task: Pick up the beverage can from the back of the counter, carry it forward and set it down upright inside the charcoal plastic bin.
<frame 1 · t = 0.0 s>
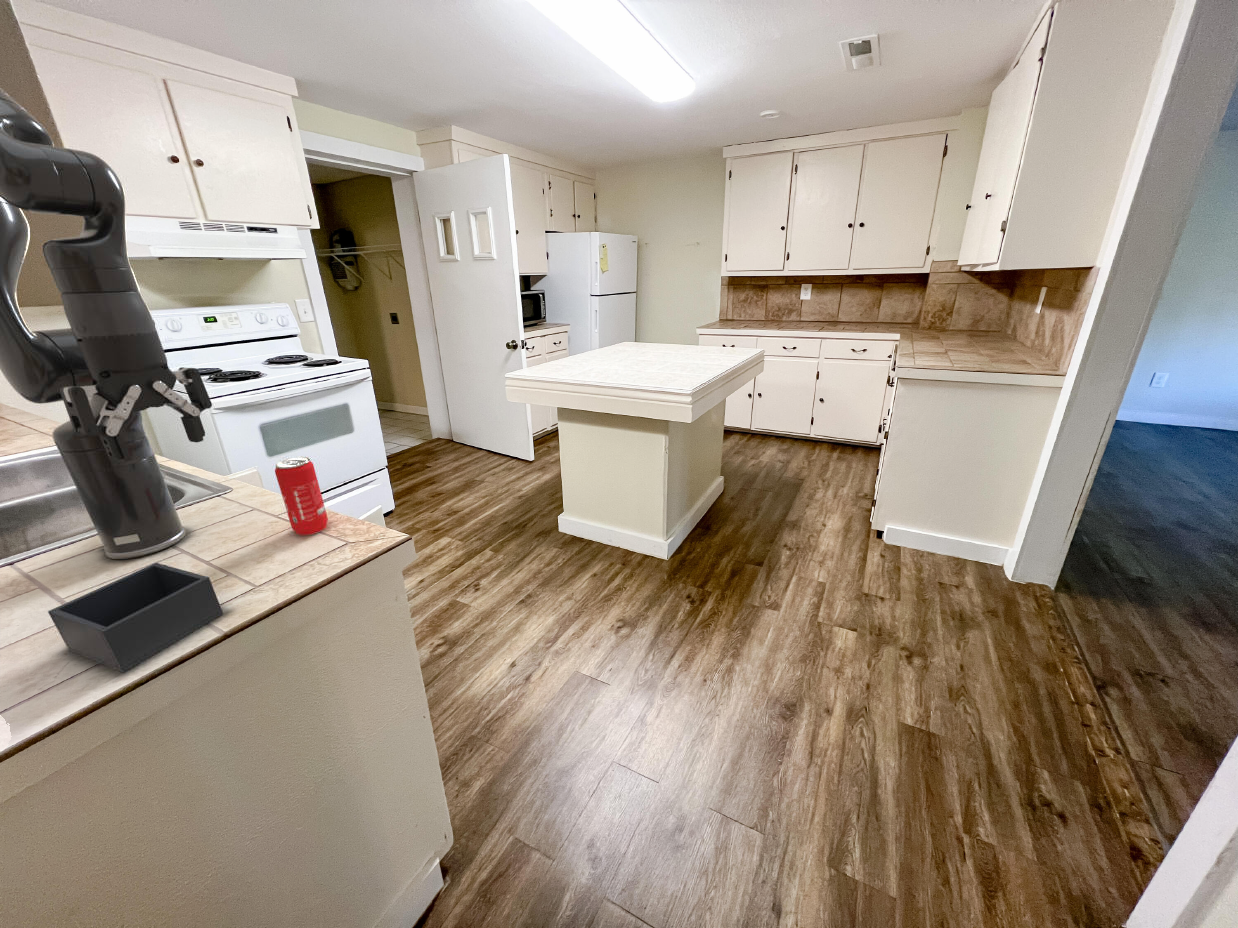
hand: (162, 451, 67), 17 cm above the counter, tool pointing down, fingers open, 8 cm apart
beverage can: (312, 529, 81), on the counter
bin: (150, 631, 58), on the counter
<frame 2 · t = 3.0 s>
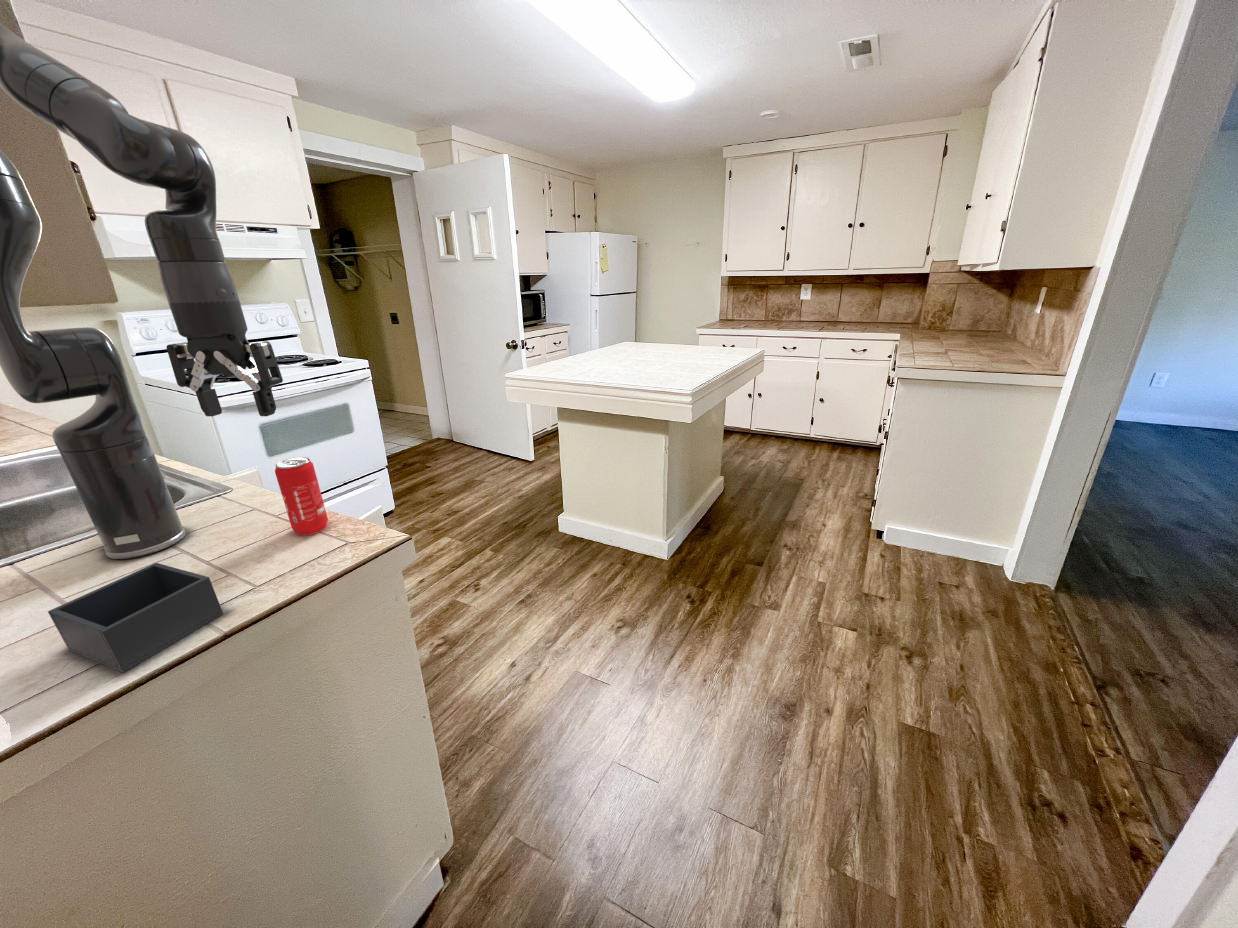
hand: (240, 415, 71), 21 cm above the counter, tool pointing down, fingers open, 8 cm apart
nothing on the counter moved.
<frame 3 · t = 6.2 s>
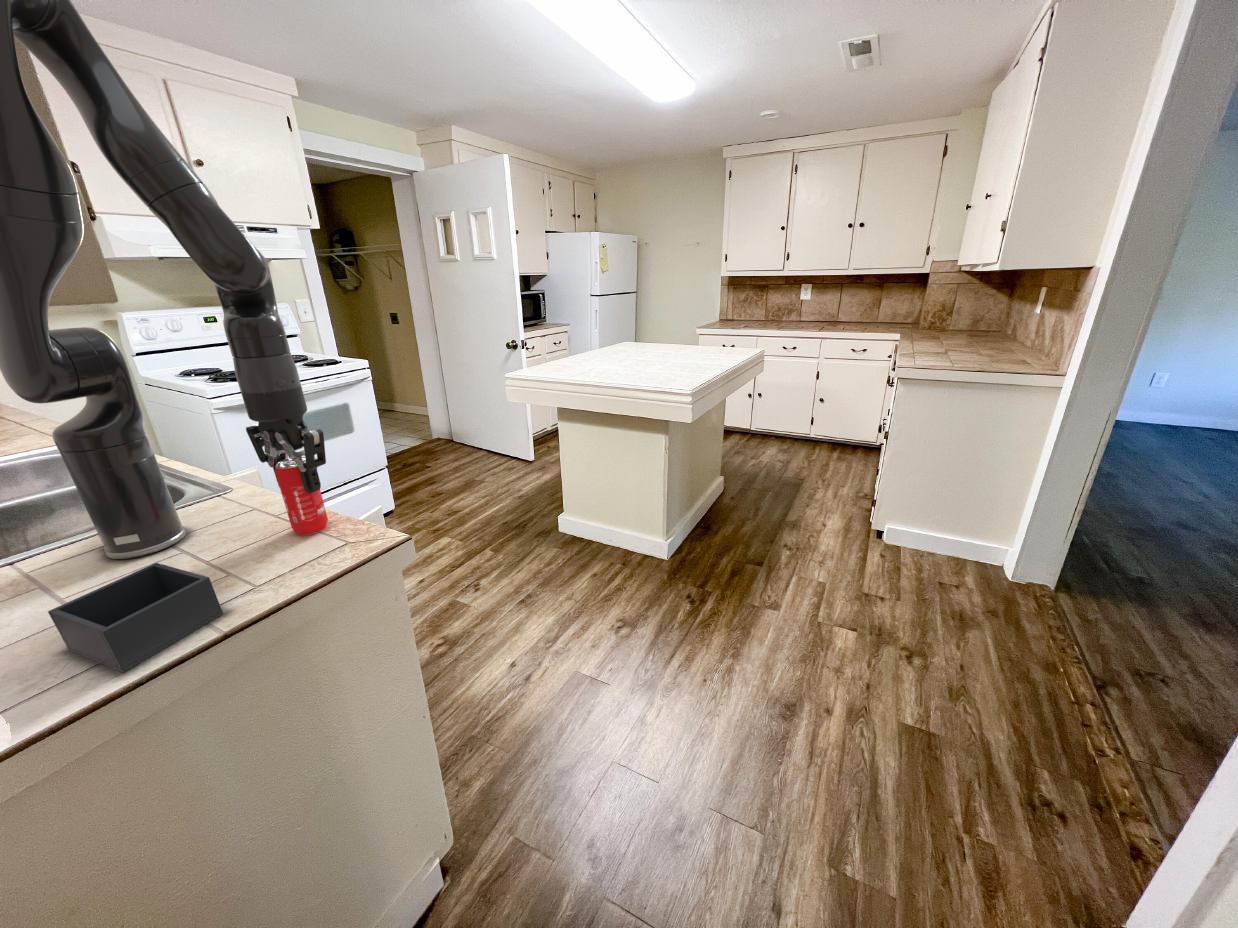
hand: (300, 488, 78), 7 cm above the counter, tool pointing down, fingers closed on beverage can, 5 cm apart
beverage can: (312, 529, 81), on the counter, touching gripper
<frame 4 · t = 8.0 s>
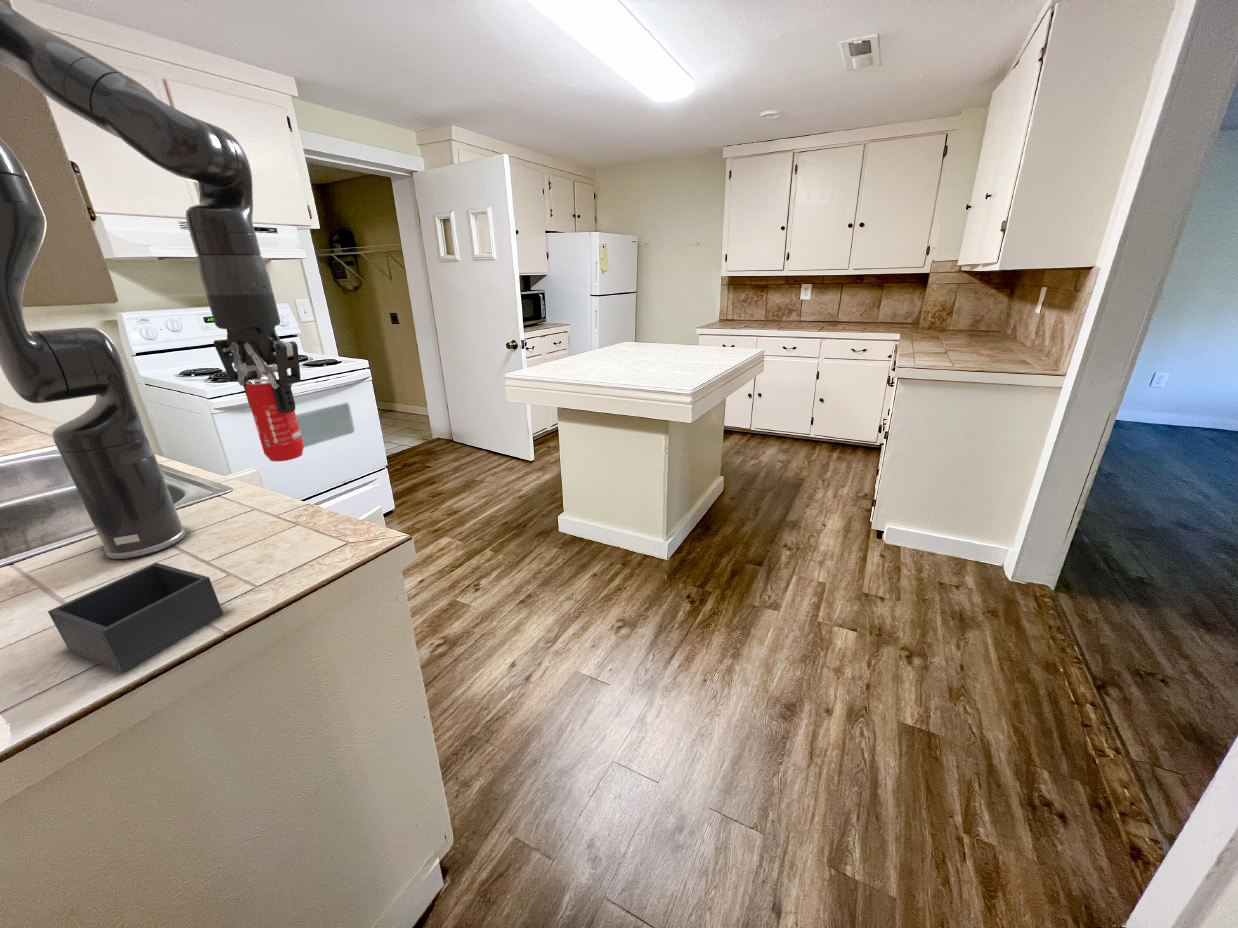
hand: (273, 410, 73), 21 cm above the counter, tool pointing down, fingers closed on beverage can, 5 cm apart
beverage can: (286, 457, 76), point 13 cm above the counter, touching gripper
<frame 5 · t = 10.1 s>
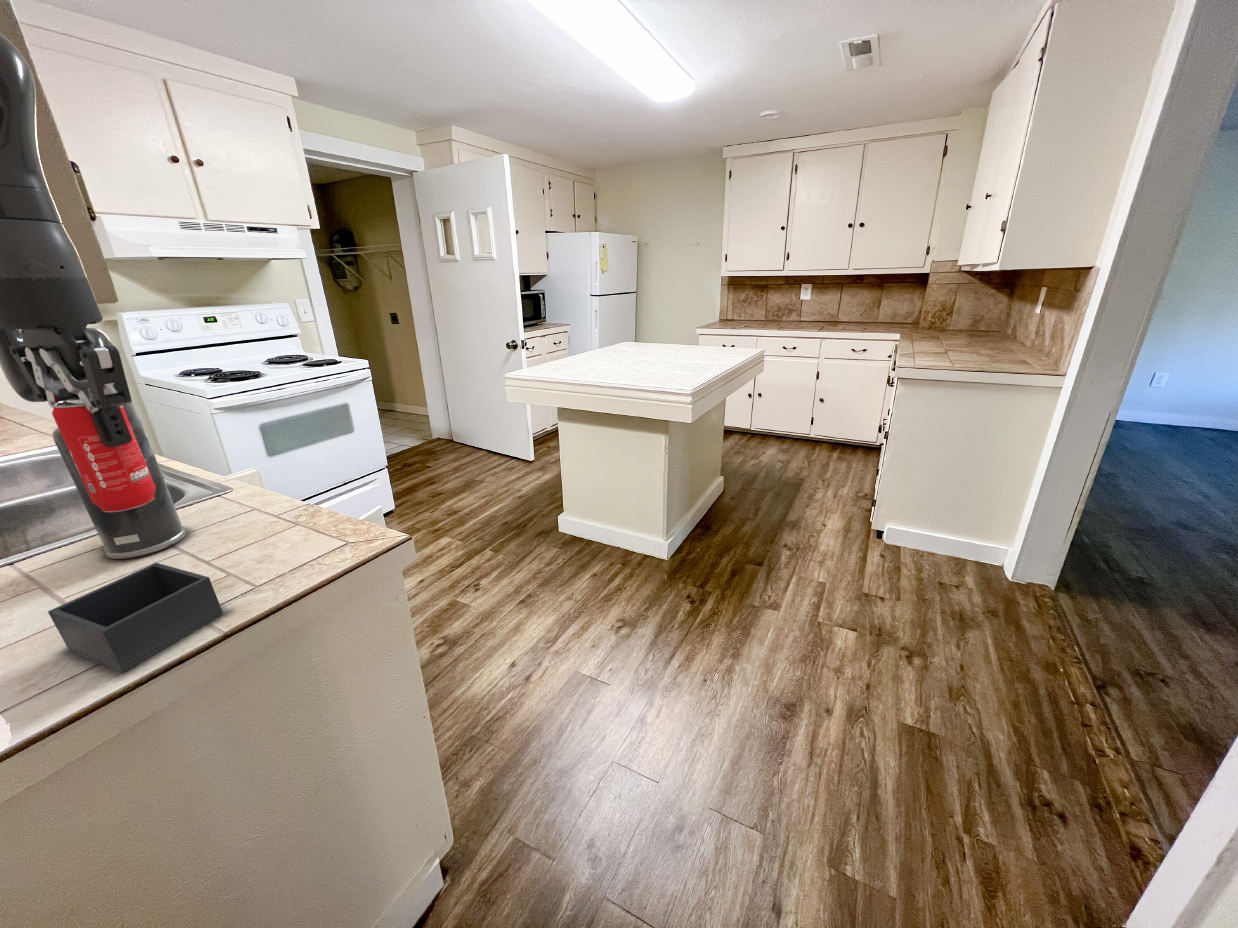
hand: (102, 441, 53), 23 cm above the counter, tool pointing down, fingers closed on beverage can, 5 cm apart
beverage can: (129, 505, 55), point 15 cm above the counter, touching gripper
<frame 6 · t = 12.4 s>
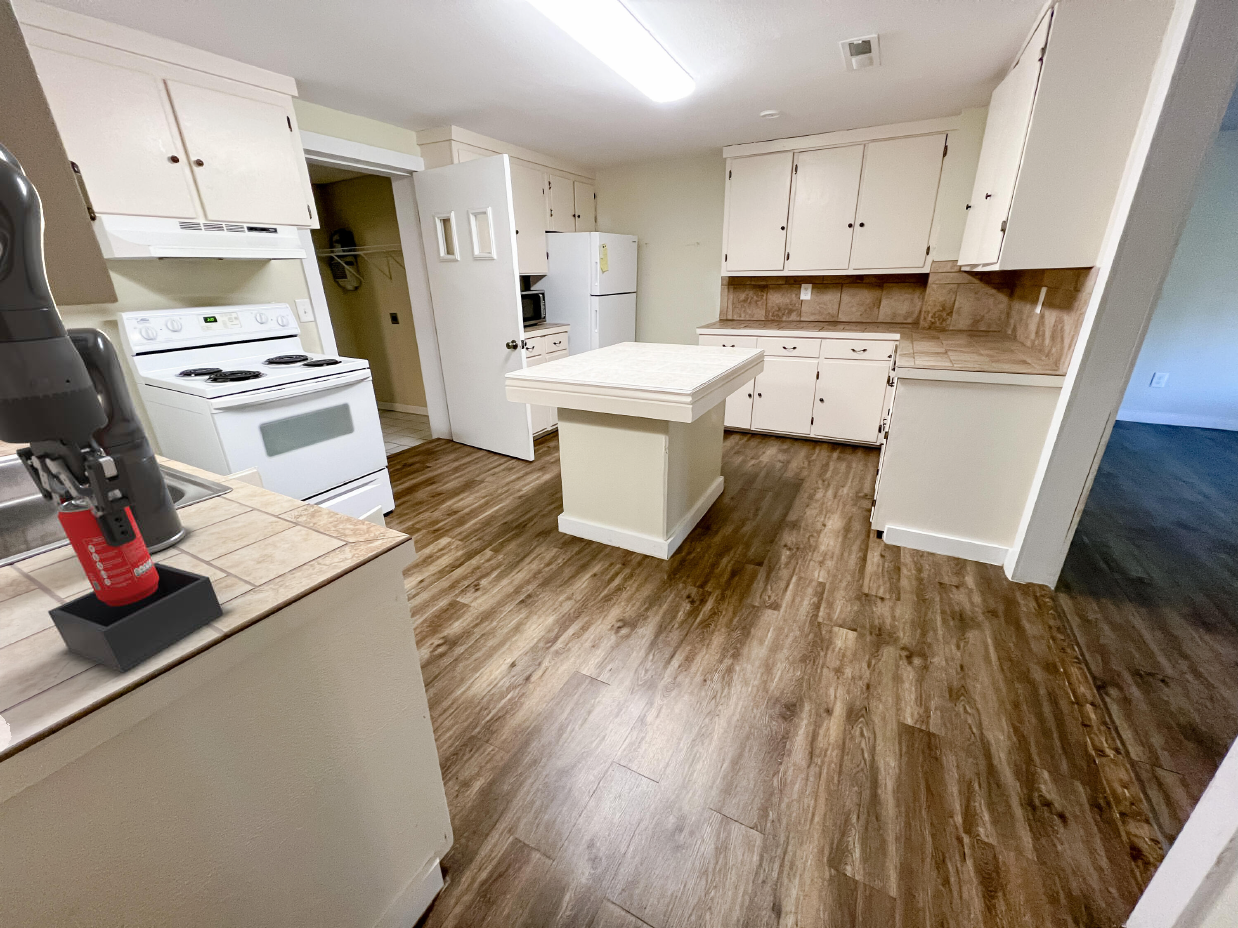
hand: (106, 538, 53), 13 cm above the counter, tool pointing down, fingers closed on beverage can, 5 cm apart
beverage can: (133, 596, 56), point 5 cm above the counter, touching gripper
when the fingers open (8 cm above the counter, at t = 14.1 s): beverage can stays where it is, resting on bin.
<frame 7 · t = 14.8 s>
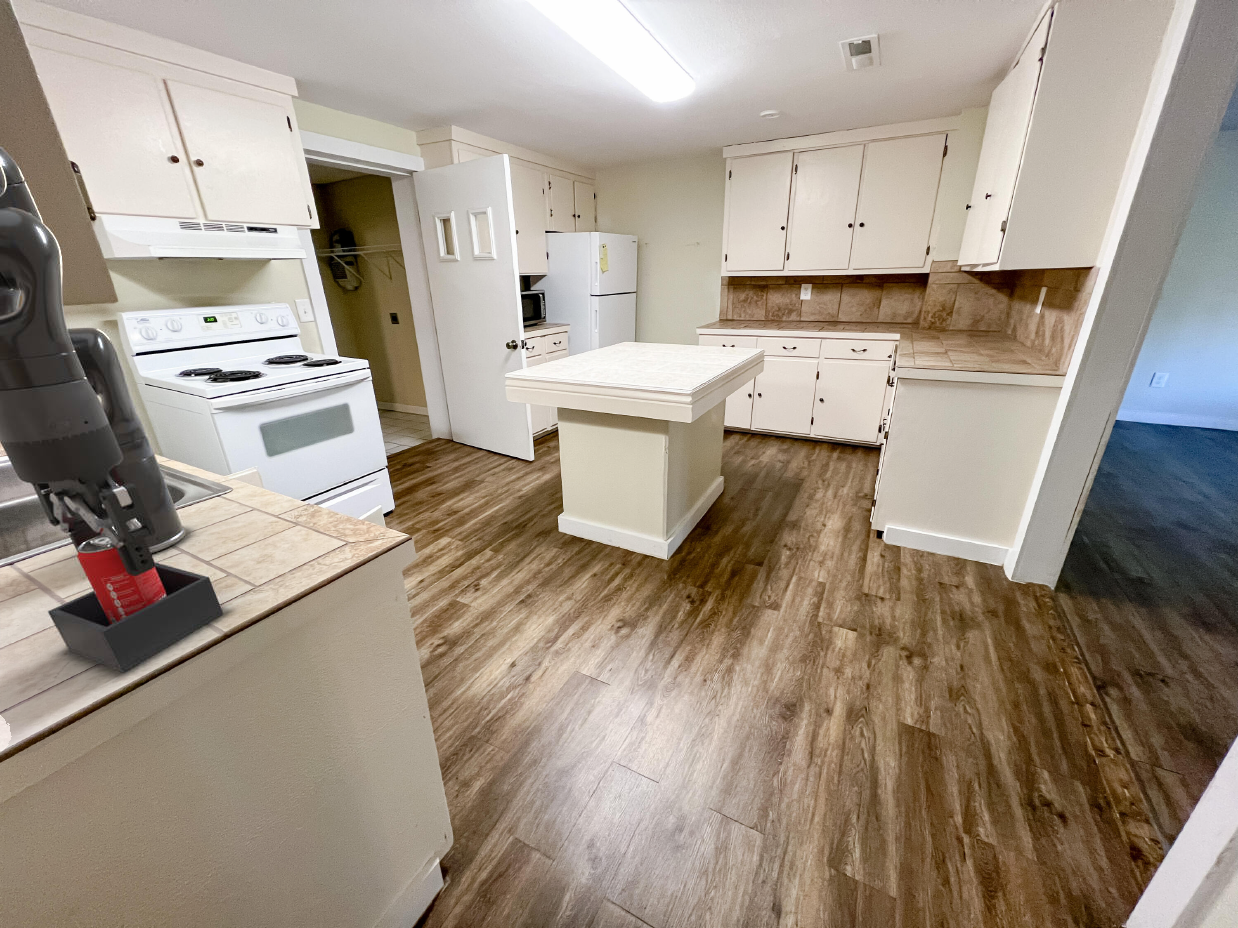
hand: (119, 564, 55), 9 cm above the counter, tool pointing down, fingers open, 8 cm apart
beverage can: (148, 629, 58), resting on bin
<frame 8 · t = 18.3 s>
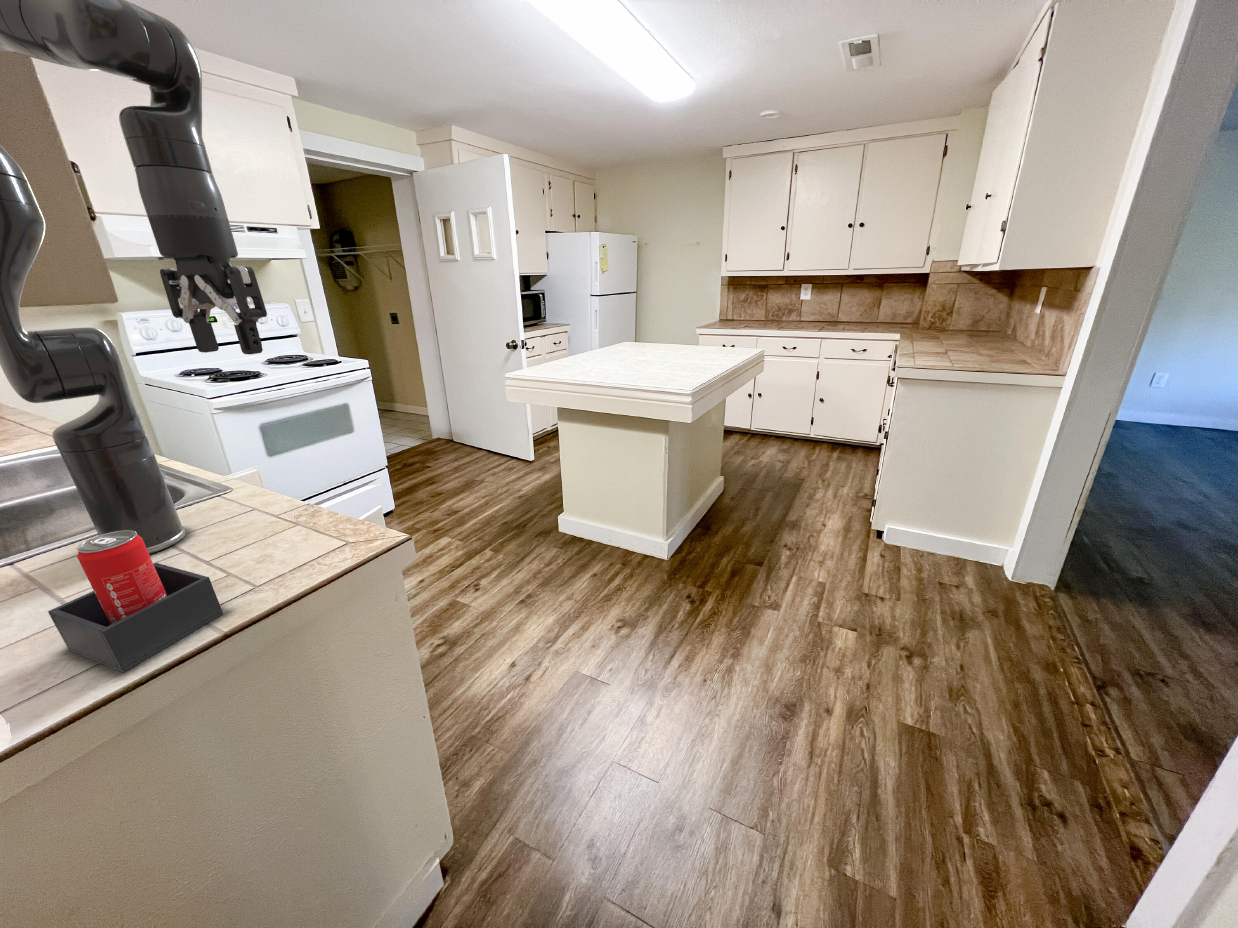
hand: (230, 352, 64), 30 cm above the counter, tool pointing down, fingers open, 8 cm apart
nothing on the counter moved.
at the end: beverage can inside the target area in the bin (0.0 cm from its centre), point 0.3 cm above the bin's base; beverage can tilted 0° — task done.
